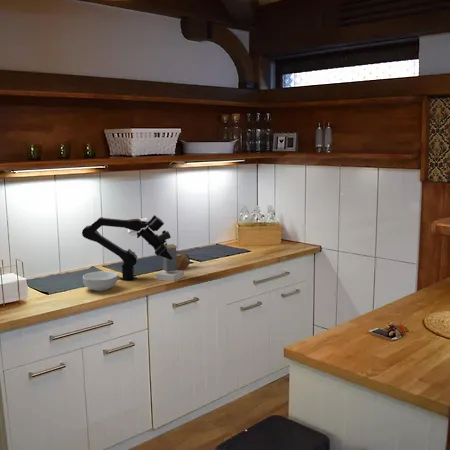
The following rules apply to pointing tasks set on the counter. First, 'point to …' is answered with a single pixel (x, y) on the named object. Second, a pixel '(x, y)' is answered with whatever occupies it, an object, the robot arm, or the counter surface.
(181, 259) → the mottled brown rounded slab
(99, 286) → the cereal bowl
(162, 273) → the stand
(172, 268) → the block
